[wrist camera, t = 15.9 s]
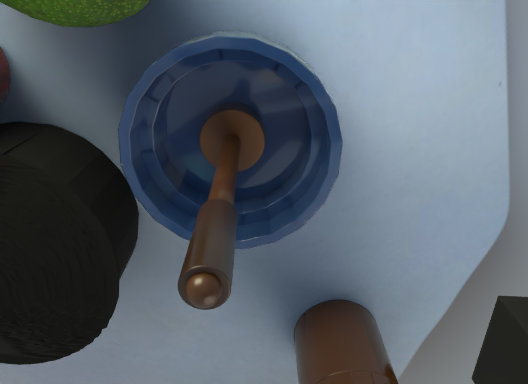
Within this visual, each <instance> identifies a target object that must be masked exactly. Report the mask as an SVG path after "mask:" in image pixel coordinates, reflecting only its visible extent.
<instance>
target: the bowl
mask: <svg viewBox="0 0 528 384" xmlns="http://www.w3.org/2000/svg"><path fill="white" fill-rule="evenodd" d="M231 102H235V103H241V104H244V105H247V106H249V107H250V108H252V109H253V110H254V111H255V112H256V113H257V114H258V115H259V116H260V118H261V120H262V122H263V125H264V130H265V147H264V151H263V153H262V155H261V157H260V159H259V160H258V161H257V162H256V163H255V164H254V165H253V166H252V167H250V168H248V169H246V170H243V171H239V172H238V174H237V182H236V190H235V198H234V207H235V208H236V210H237V213H238V224H237V234H236V244H235V249H248V248H252V247H256V246H260V245H265V244H269V243H273V242H276V241H278V240H280V239H282V238H283V237H285V236H287V235H289V234H290V233H292V232H294V231H296V230H298V229H299V228H301V227H302V226H303V225H304V224H305V223H306V222H307V221H308V220H309V219H310V218H311V217H312V216H313V215H314V214H315V213H316V212H317V211H318V210H319V209H320V207H321V206H322V205H323V204H324V203H325V201H326V199H327V197H328V195H329V193H330V191H331V189H332V187H333V185H334V183H335V181H336V179H337V177H338V173H339V166H340V158H341V151H342V137H341V132H340V126H339V121H338V116H337V111H336V108H335V106H334V104H333V103H332V101H331V99H330V97H329V96H328V94H327V92H326V91H325V89H324V87H323V85H322V84H321V82H320V80H319V78H318V77H317V76H316V74H315V73H314V72H313V71H312V69H311V68H310V67H309V66H308V65H307V64H306V63H305V62H304V61H303V60H302V59H300V58H299V57H298V56H297V55H296V54H295V53H294V52H292V51H291V50H290V49H289V48H288V47H287V46H285V45H284V44H281V43H279V42H276V41H274V40H271V39H269V38H267V37H264V36H262V35H259V34H257V33H253V32H238V31H217V32H214V33H210V34H207V35H203V36H200V37H196V38H193V39H190V40H188V41H186V42H184V43H182V44H180V45H179V46H177V47H175V48H174V49H173V50H171V51H170V52H168V53H167V54H166V55H164V56H163V57H161V58H160V59H159V60H157V61H156V62H154V63H153V64H151V65H150V66H149V67H148V68H147V69H146V70H145V72H144V73H143V74H142V76H141V77H140V79H139V80H138V82H137V83H136V85H135V86H134V87H133V89H132V90H131V92H130V93H129V95H128V96H127V98H126V102H125V106H124V110H123V113H122V117H121V121H120V125H119V129H118V135H119V148H120V161H121V166H122V169H123V171H124V174H125V176H126V178H127V181H128V183H129V185H130V188H131V190H132V193H133V195H134V196H135V197H136V198H137V199H138V201H139V202H140V203H141V204H142V205H143V207H144V208H145V209H146V210H147V211H148V213H149V214H150V215H151V216H152V217H153V219H155V220H156V221H157V222H159V223H160V224H162V225H163V226H165V227H166V228H168V229H169V230H171V231H172V232H174V233H175V234H177V235H178V236H180V237H182V238H183V239H186V240H189V241H190V239H191V236H192V232H193V229H194V225H195V222H196V218H197V215H198V211H199V209H200V207H201V206H202V205H203V204H204V203H205V202H207V201H208V197H209V193H210V189H211V185H212V181H213V177H214V174H215V170H216V167H214V166H213V165H212V164H210V163H209V162H208V161H207V159H206V158H205V157H204V155H203V153H202V151H201V148H200V141H199V139H200V132H201V129H202V126H203V124H204V122H205V120H206V118H207V116H208V115H209V113H210V112H211V111H212V110H213V109H215V108H216V107H218V106H220V105H222V104H225V103H231Z"/></svg>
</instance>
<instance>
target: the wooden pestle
mask: <svg viewBox="0 0 528 384" xmlns="http://www.w3.org/2000/svg"><path fill="white" fill-rule="evenodd" d="M199 141H200V148H201V151H202V153H203V155H204V157H205V158H206V159H207V161H208V162H209V163H210V164H212V165H213V166H214V167H216V170H215V174H214V177H213V181H212V185H211V189H210V193H209V197H208V201H207V202H205V203H204V204H203V205H202V206H201V207H200V209H199V211H198V215H197V218H196V222H195V225H194V229H193V232H192V236H191V239H190V243H189V246H188V250H187V253H186V257H185V260H184V263H183V267H182V270H181V274H180V277H179V281H178V291H179V294H180V296H181V298H182V299H183V300H184V301H185V302H186V303H187V304H188V305H190V306H192V307H194V308H197V309H203V310H208V309H214V308H217V307H219V306H221V305H222V304H223V303H225V302H226V300H227V299H228V298H229V296H230V293H231V285H232V275H233V265H234V255H235V244H236V234H237V224H238V213H237V210H236V208H235V207H234V198H235V190H236V182H237V174H238V172H239V171H243V170H246V169H248V168H250V167H252V166H253V165H254V164H255V163H256V162H257V161H258V160H259V159H260V157H261V155H262V153H263V151H264V147H265V130H264V125H263V122H262V120H261V118H260V116H259V115H258V114H257V113H256V112H255V111H254V110H253V109H252V108H250V107H249V106H247V105H244V104H241V103H235V102H231V103H225V104H222V105H220V106H218V107H216V108H215V109H213V110H212V111H211V112H210V113H209V115H208V116H207V118H206V120H205V122H204V124H203V126H202V129H201V132H200V139H199Z"/></svg>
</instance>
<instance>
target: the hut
mask: <svg viewBox="0 0 528 384" xmlns="http://www.w3.org/2000/svg"><path fill="white" fill-rule="evenodd" d="M138 218H139V213H138V208H137V204H136V201H135V198H134V195H133V193H132V190H131V188H130V185H129V184H128V182H127V180H126V179H125V177H124V176H123V174H122V173H121V171H120V170H119V169H118V168H117V167H116V165H115V164H114V163H113V162H112V161H111V160H110V159H109V158H108V157H107V156H106V155H105V154H104V153H103V152H102V151H101V150H99V149H98V148H97V147H95V146H94V145H93V144H91V143H90V142H89V141H87V140H86V139H84V138H82V137H81V136H79V135H76V134H74V133H72V132H69V131H67V130H65V129H63V128H60V127H56V126H53V125H47V124H38V123H29V122H8V123H3V124H0V363H7V364H18V365H22V364H37V363H44V362H48V361H53V360H57V359H60V358H63V357H65V356H69V355H71V354H72V353H75V352H77V351H80V349H83V348H84V347H85V346H87V345H88V344H90V343H92V342H93V341H94V339H95V338H96V337H98V336H99V335H100V334H101V331H102V329H104V328H107V325H108V323H109V320H110V318H111V317H112V315H113V313H114V310H115V307H116V304H117V301H118V297H119V280H120V278H121V276H122V274H123V272H124V269H125V267H126V265H127V263H128V261H129V259H130V257H131V255H132V252H133V250H134V248H135V245H136V242H137V238H138Z"/></svg>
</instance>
